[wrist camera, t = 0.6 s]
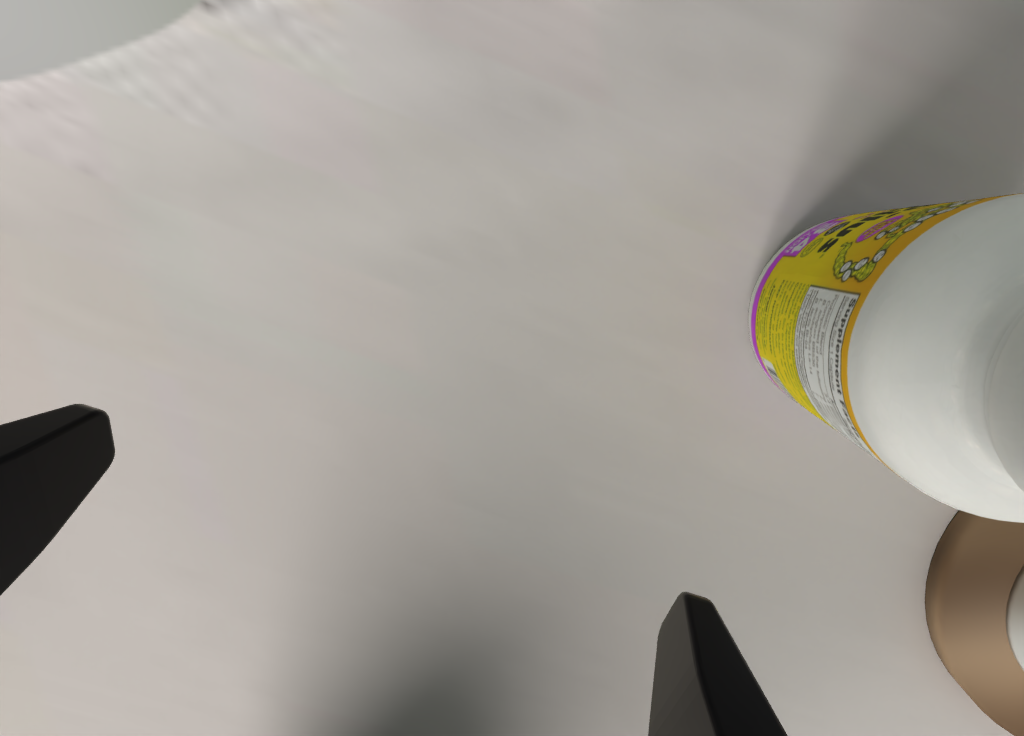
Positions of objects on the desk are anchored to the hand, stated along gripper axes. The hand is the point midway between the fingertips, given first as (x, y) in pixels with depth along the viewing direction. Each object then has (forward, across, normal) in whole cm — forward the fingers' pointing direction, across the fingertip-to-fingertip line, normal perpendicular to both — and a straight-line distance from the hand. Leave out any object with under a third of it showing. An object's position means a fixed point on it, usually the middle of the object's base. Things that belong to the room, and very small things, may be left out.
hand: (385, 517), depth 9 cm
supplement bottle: (+15, -11, 0) cm, 18 cm away
